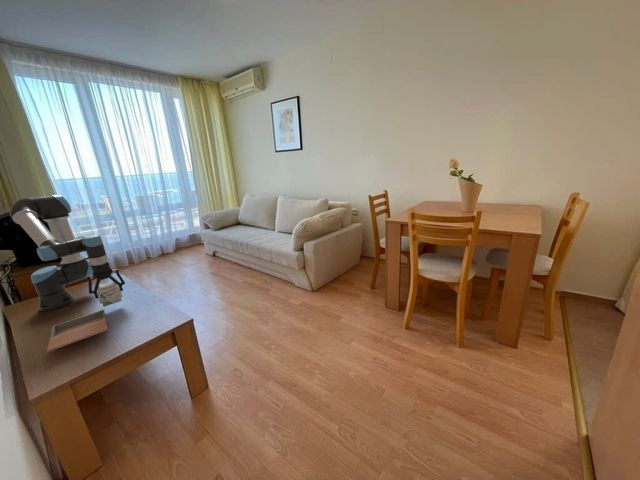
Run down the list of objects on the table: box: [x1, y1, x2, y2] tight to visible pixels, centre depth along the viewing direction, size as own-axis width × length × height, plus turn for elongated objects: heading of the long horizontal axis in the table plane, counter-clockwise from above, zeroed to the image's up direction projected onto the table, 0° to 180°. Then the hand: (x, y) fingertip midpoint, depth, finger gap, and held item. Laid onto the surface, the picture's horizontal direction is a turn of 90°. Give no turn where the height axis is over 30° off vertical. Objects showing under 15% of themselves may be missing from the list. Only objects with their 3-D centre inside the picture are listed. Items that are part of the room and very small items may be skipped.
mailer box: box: [50, 309, 109, 338], centre depth 129 cm, size 13×20×4 cm, turn 133°
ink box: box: [97, 280, 123, 308], centre depth 145 cm, size 8×5×12 cm, turn 135°
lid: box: [46, 319, 108, 353], centre depth 119 cm, size 13×20×1 cm, turn 133°
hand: (111, 299), depth 146 cm, fingers closed on ink box, 9 cm apart
